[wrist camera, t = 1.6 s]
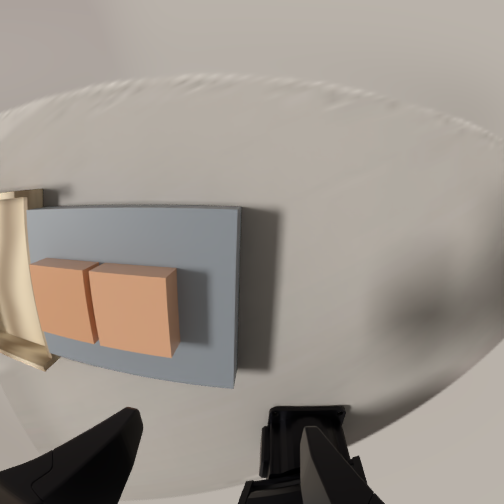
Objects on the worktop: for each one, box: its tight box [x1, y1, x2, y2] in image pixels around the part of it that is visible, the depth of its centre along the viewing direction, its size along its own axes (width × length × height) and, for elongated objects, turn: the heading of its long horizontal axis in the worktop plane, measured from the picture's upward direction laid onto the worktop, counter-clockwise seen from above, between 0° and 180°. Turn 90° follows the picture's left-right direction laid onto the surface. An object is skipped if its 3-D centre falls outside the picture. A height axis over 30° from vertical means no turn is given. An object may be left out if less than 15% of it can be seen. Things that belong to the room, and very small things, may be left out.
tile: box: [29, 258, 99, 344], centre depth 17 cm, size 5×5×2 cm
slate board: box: [26, 205, 241, 389], centre depth 19 cm, size 16×12×2 cm
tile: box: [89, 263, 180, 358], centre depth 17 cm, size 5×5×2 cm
